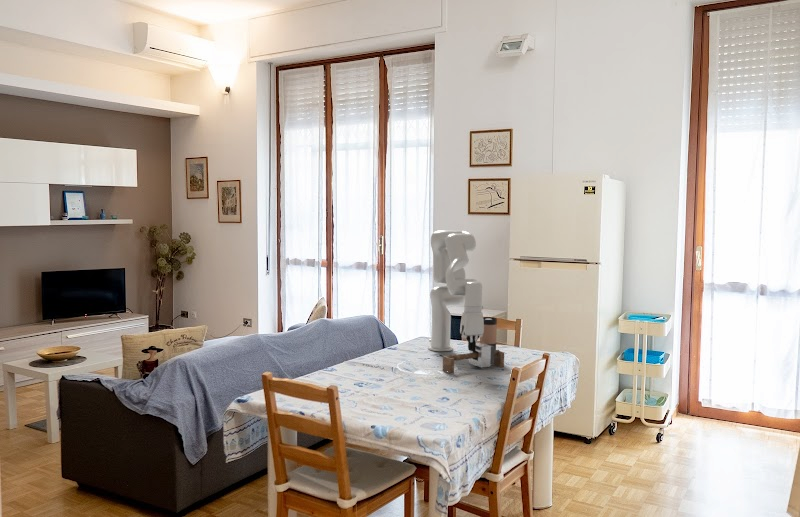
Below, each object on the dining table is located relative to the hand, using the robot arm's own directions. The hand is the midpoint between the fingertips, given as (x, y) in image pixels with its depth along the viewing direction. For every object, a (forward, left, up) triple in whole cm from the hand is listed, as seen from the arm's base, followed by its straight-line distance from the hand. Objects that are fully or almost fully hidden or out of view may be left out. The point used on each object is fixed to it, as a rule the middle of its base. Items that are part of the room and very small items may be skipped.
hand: (471, 350), depth 298 cm
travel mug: (-10, +16, -9) cm, 21 cm away
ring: (0, +8, -6) cm, 10 cm away
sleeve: (0, +5, -7) cm, 8 cm away
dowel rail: (0, +1, -8) cm, 8 cm away
